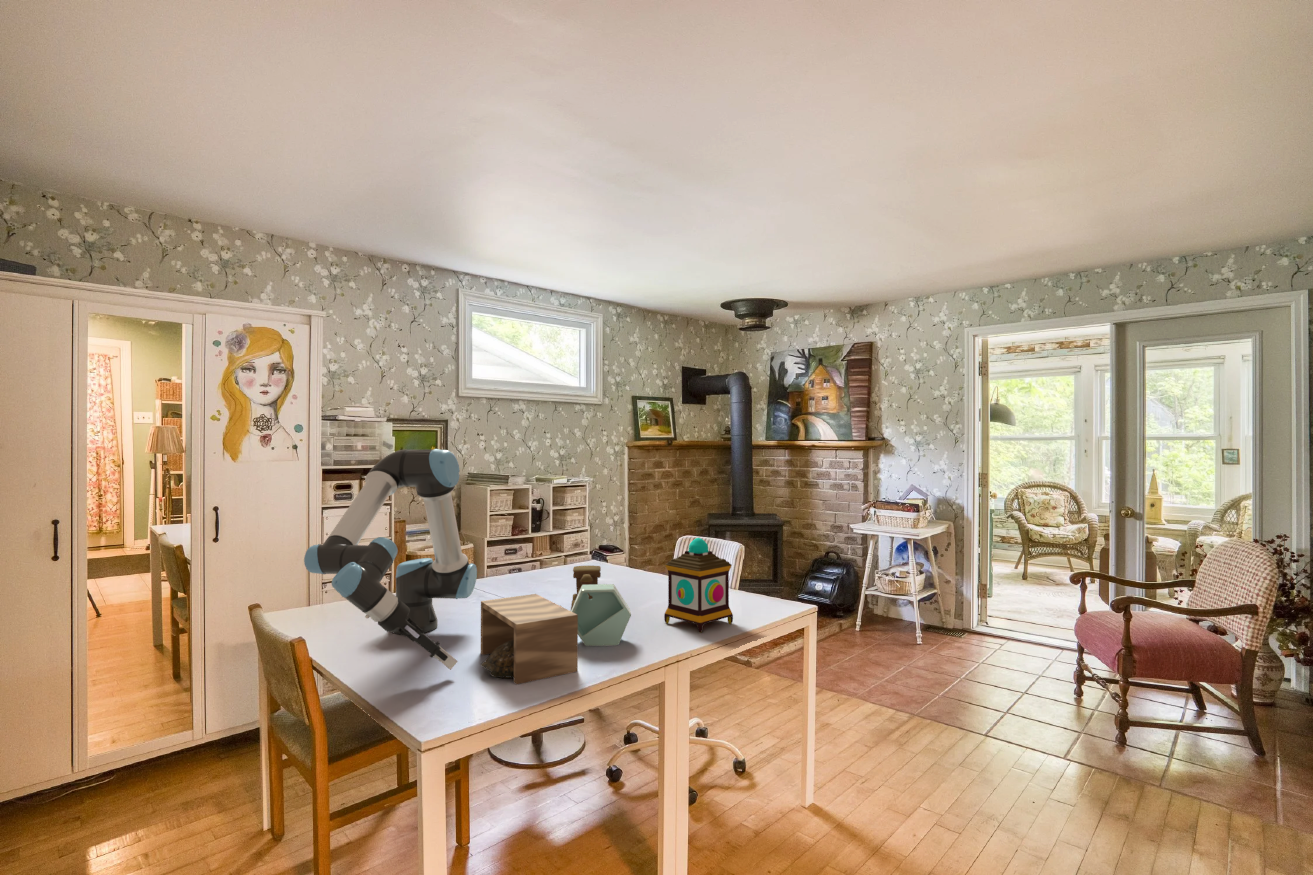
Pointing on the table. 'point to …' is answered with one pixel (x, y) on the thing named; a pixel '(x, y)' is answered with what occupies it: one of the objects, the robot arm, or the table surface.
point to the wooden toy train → (585, 578)
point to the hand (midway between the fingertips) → (453, 664)
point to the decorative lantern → (698, 586)
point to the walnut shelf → (532, 635)
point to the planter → (601, 615)
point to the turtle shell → (501, 660)
